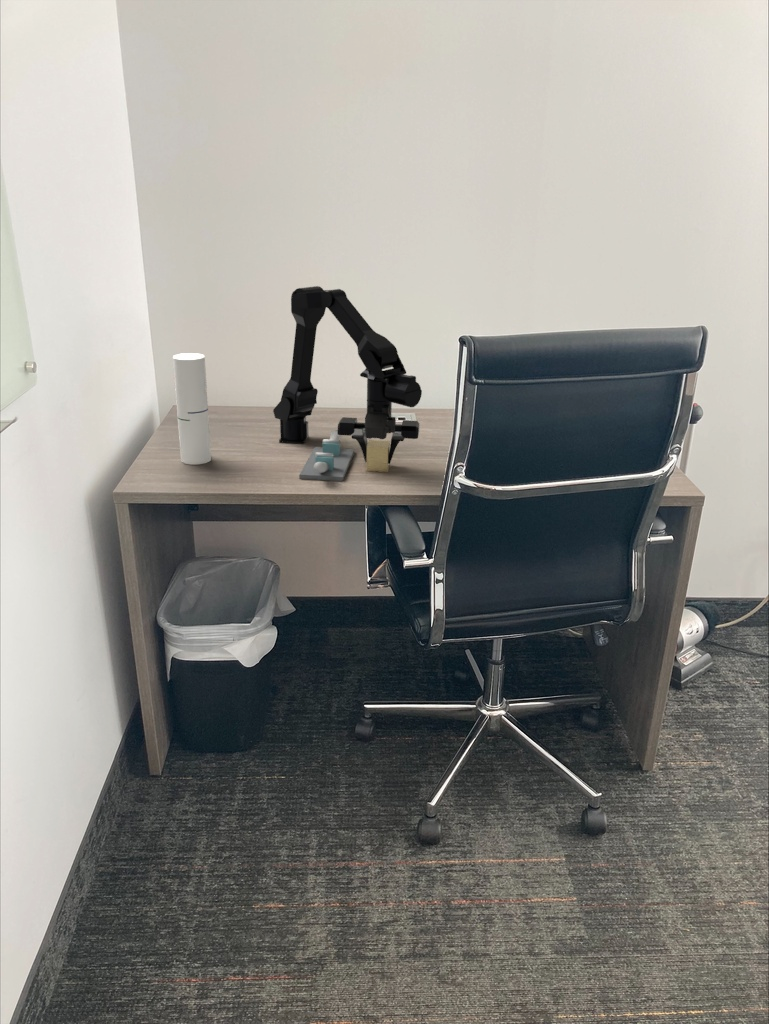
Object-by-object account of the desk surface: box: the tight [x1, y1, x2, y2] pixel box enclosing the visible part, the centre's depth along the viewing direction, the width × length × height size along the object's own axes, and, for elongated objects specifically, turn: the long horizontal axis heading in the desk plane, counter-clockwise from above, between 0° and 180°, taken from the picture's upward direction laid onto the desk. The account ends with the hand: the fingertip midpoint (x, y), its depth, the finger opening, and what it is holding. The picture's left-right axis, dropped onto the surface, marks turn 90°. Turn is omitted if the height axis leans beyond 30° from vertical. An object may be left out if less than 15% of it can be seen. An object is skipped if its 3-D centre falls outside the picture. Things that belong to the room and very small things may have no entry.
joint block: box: [365, 439, 391, 473], centre depth 191 cm, size 5×5×6 cm
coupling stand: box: [298, 429, 355, 482], centre depth 192 cm, size 10×26×5 cm, turn 175°
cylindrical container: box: [172, 352, 212, 466], centre depth 190 cm, size 7×7×25 cm
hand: (378, 462), depth 192 cm, fingers closed on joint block, 5 cm apart
